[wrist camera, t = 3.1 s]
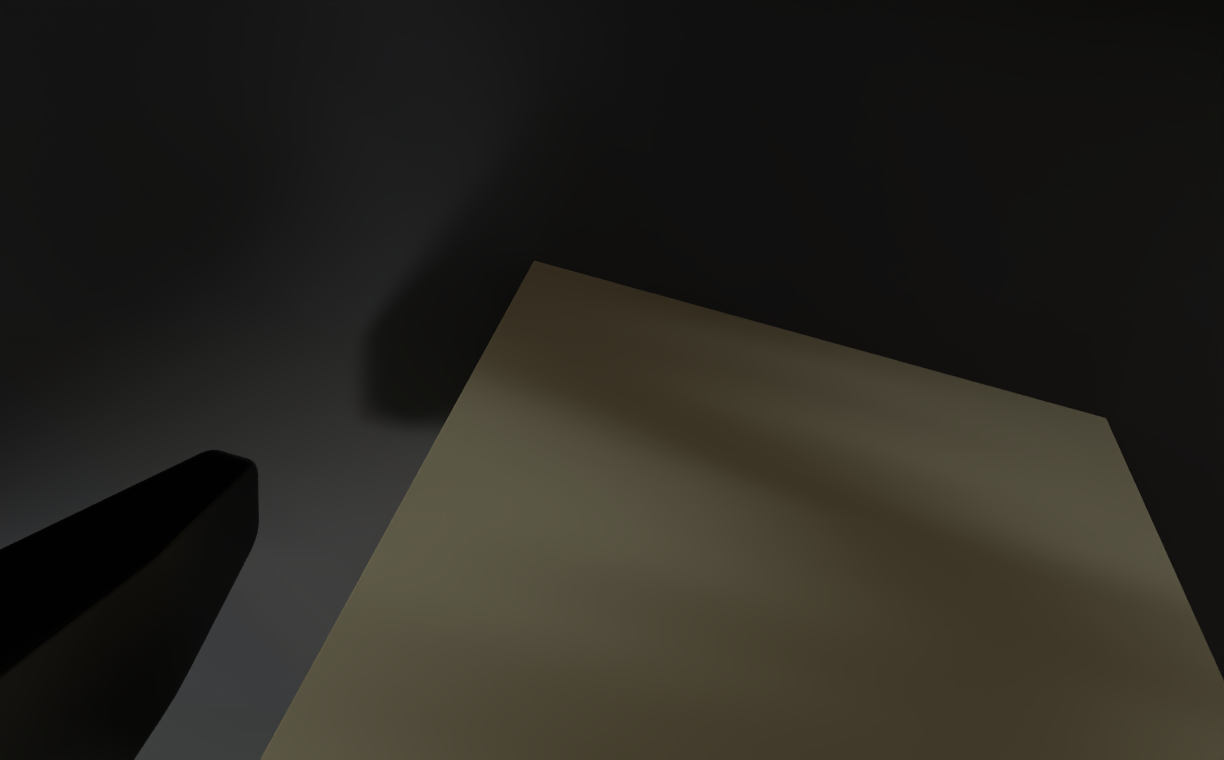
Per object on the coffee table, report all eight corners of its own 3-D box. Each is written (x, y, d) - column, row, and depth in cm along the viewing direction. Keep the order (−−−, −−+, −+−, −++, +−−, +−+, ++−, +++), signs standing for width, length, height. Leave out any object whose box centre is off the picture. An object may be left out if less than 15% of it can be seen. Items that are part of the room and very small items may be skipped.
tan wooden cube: (468, 625, 11) (261, 1151, 7) (536, 255, 8) (248, 783, 4) (881, 745, 11) (926, 1352, 7) (1103, 413, 8) (1425, 1129, 4)
